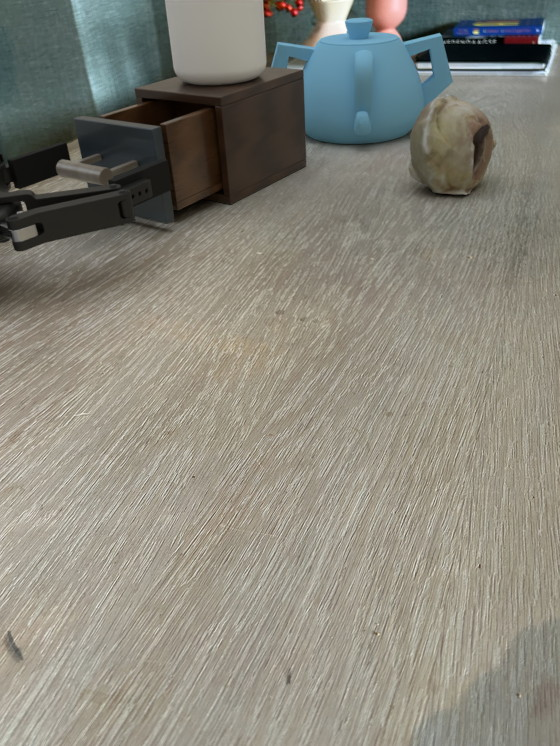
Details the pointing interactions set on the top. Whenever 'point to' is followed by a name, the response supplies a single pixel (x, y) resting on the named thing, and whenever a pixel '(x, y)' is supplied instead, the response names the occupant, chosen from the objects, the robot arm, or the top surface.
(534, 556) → the top surface
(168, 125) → the drawer
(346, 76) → the teapot
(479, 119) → the garlic bulb
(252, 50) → the cup
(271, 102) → the cabinet
